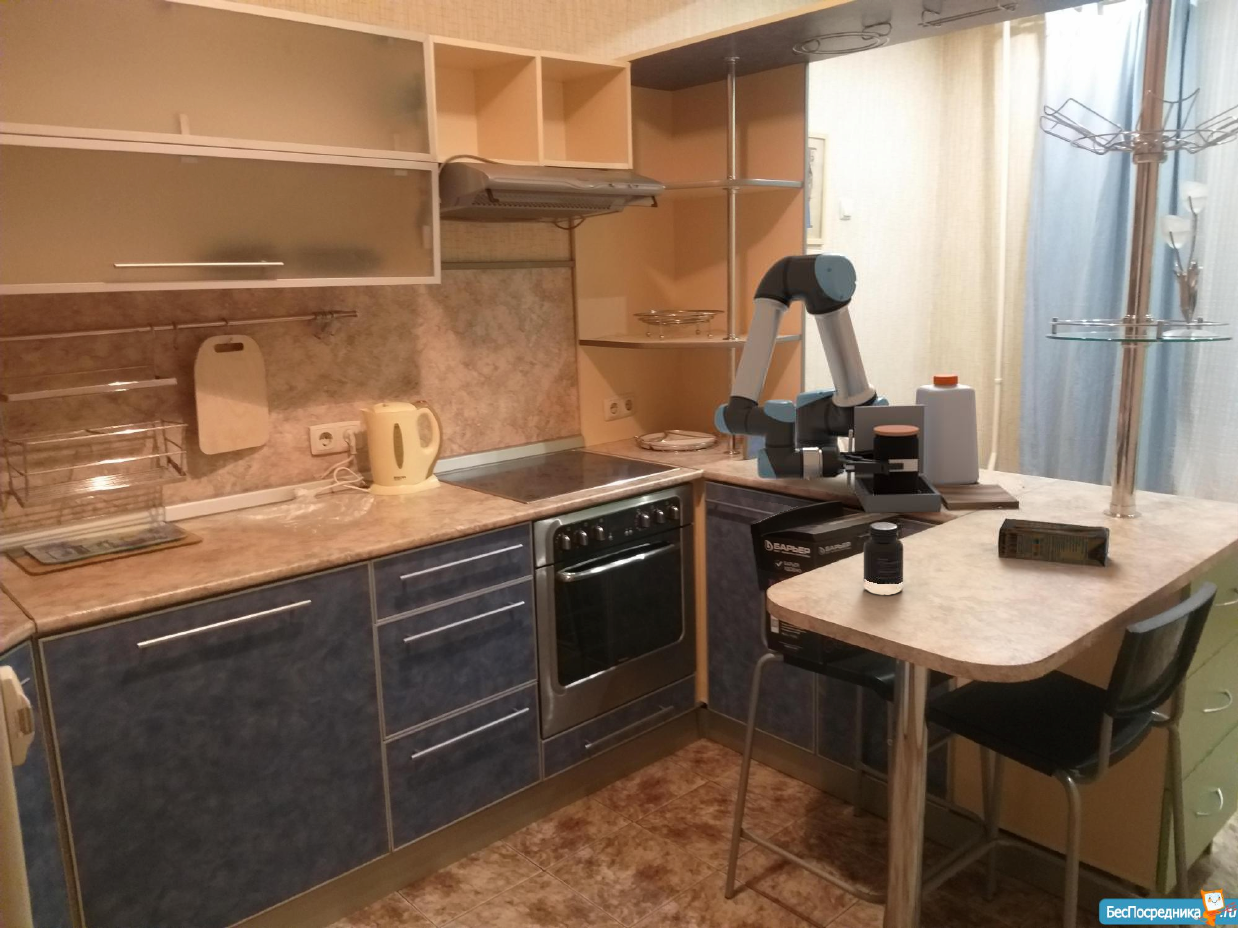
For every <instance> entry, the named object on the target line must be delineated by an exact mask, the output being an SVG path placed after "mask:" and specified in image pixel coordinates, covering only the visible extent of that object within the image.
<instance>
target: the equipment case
mask: <svg viewBox="0 0 1238 928" xmlns="http://www.w3.org/2000/svg"><path fill="white" fill-rule="evenodd" d="M885 425H907V426H914V427H917V428H919V433H918V434H917V437H918V439H919V469H918V490H919V491H918V492H919V493H918V494H894V495H873V494H870V492H868V491H873V473H859V472H853V475H854V476H853V479H854V485H853V487H854V490H855V491H854V493H855V492H856V493H855V495H856V494H857V495H856V497H857V496H858V497H857V498H859V499H858V500H859V502H860V505H861V506H862V508H863V510H864V511H865V513H911V512H912V513H914V512H915V513H916V512H917V513H918V512H920V513H921V512H925V513H926V512H941V511H942V510H941V509H942V502H941V494H940V493H939V492H938V491H937V490H936V489H935V487H934V486H933V485H932V484H931V483H930V482H929V481H928V480H927V479H926V478H925V477H924V474H923V470H924V405H915V404H904V405H903V404H899V405H898V404H897V405H896V404H895V405H889V406H863V407H854V438H853V430H849V438H848V443H847V445H848V446H847V447H848V449H847V452H853V448H854V451H864V450H873V439H874V437H875V436H876V435H875V433H874V428H875V427H879V426H885ZM853 439H854V441H853ZM853 442H854V443H853ZM853 444H854V445H853ZM853 446H854V447H853ZM851 481H852V472H849V473H847V472H846V486H847V487H850V486H851V484H852V482H851ZM921 493H922V494H921Z"/></svg>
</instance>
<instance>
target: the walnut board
mask: <svg viewBox="0 0 1238 928" xmlns="http://www.w3.org/2000/svg"><path fill="white" fill-rule="evenodd" d="M934 487H935V489H936V490H937V491H938V492H939V493H940V494H941V504H943V506H945V508H946V509H948V510H955V509H956V510H957V509H958V510H964V509H966V510H967V509H971V510H973V509H1000V508H999V507H1009V508H1008V509H1016V508H1017V509H1018V508H1020V501H1019V500H1018V499H1017V498H1015V497H1014V496H1013V495H1012V494H1011V493H1009V492H1008V491H1007V490H1006V489H1004V488H1003V487H1002V486H1001V485H1000V484H998V483H993V484H963V485H940V486H934Z"/></svg>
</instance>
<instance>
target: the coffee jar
mask: <svg viewBox="0 0 1238 928" xmlns="http://www.w3.org/2000/svg"><path fill="white" fill-rule="evenodd" d="M874 433H875V435H876V436H875V437H874V439H873V460H881V461H889V460H903V459H917V460H918V469H919V439H918V437H917V434H918V433H919V428H917V427H914V426H907V425H885V426H879V427H875V428H874ZM894 494H919V491H918V471H893V472H889V475H886V474H882V473H873V492H872V495H894Z"/></svg>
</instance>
